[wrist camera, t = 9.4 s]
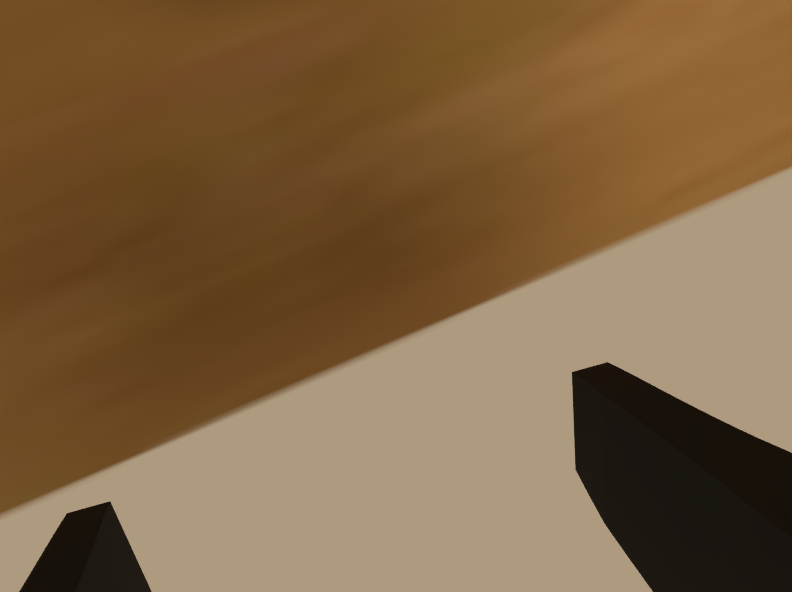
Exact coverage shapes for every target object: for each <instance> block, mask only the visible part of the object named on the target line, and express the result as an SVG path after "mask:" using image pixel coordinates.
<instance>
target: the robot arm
mask: <svg viewBox="0 0 792 592" xmlns="http://www.w3.org/2000/svg"><path fill="white" fill-rule="evenodd" d="M572 385H573V410H574V438H575V464H576V471H577V473H578V475H579V477H580V479H581V481H582V483H583V484H584V486H585V488H586V490H587V492H588V494H589V496H590V498H591V500H592V501H593V503H594V505H595V507H596V509H597V510H598V512H599V514H600V516H601V518H602V519H603V521H604V523H605V524H606V526H607V527H608V529H609V530H610V532H611V533H612V535H613V536H614V537H615V539H616V540H617V542H618V543H619V544H620V546H621V547H622V549H623V550H624V552H625V553H626V554H627V556H628V557H629V559H630V560H631V562H632V563H633V564H634V566H635V567H636V569H637V570H638V571H639V573H640V574H641V575H642V577H643V578H644V580H645V581H646V582H647V584H648V585H649V587H650V588H651V589H652V591H653V592H792V453H791V452H788V451H786V450H784V449H781V448H779V447H777V446H775V445H772V444H770V443H768V442H765V441H763V440H761V439H758V438H756V437H754V436H752V435H750V434H748V433H746V432H744V431H742V430H739V429H737V428H735V427H733V426H731V425H729V424H727V423H725V422H723V421H721V420H719V419H717V418H715V417H712V416H710V415H709V414H707V413H705V412H703V411H701V410H698V409H697V408H695V407H693V406H691V405H689V404H687V403H685V402H683V401H681V400H679V399H677V398H675V397H674V396H672V395H670V394H668V393H666V392H664V391H662V390H660V389H658V388H656V387H655V386H653V385H651V384H649V383H647V382H645V381H643V380H641V379H639V378H638V377H636V376H634V375H632V374H630V373H628V372H626V371H624V370H622V369H620V368H618V367H616V366H614V365H612V364H610V363H608V362H607V363H603V364H600V365H596V366H593V367H589V368H586V369H582V370H579V371H575V372H572ZM19 592H151V590H150V588H149V585H148V583H147V581H146V579H145V577H144V574H143V572H142V570H141V568H140V566H139V563H138V561H137V559H136V557H135V555H134V553H133V550H132V548H131V546H130V544H129V542H128V539H127V537H126V535H125V533H124V531H123V529H122V526H121V524H120V522H119V520H118V518H117V516H116V513H115V511H114V509H113V507H112V505H111V502H106V503H103V504H99V505H96V506H92V507H88V508H85V509H81V510H78V511H74V512H70V513H67V514H66V516H65V518H64V519H63V521H62V522H61V524H60V525H59V527H58V528H57V530H56V532H55V534H54V535H53V537H52V538H51V540H50V542H49V543H48V545H47V547H46V548H45V550H44V552H43V553H42V555H41V557H40V558H39V560H38V562H37V563H36V565H35V567H34V568H33V570H32V572H31V574H30V575H29V577H28V578H27V580H26V582H25V583H24V585H23V587H22V588H21V590H20V591H19Z"/></svg>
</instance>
